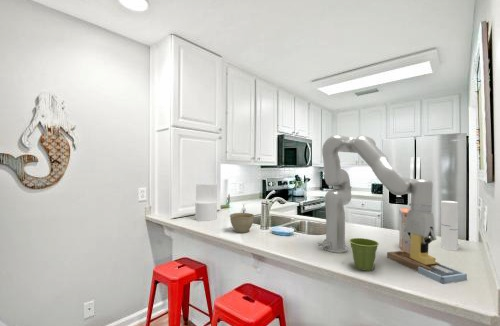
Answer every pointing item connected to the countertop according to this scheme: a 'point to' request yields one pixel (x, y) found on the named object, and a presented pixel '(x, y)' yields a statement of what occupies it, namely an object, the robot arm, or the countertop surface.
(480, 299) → the countertop surface
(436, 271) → the pale grey block
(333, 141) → the robot arm
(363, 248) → the plant pot
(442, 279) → the tray
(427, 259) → the l-shaped block
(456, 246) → the cylindrical container
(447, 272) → the chip
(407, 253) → the slot board
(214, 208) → the cylinder
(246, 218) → the planter bowl
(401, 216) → the cracker box
